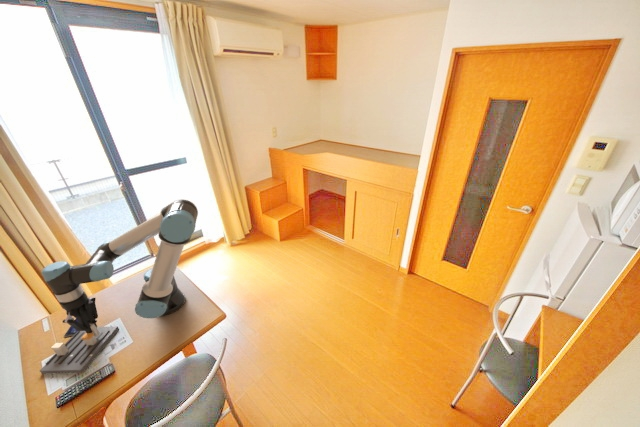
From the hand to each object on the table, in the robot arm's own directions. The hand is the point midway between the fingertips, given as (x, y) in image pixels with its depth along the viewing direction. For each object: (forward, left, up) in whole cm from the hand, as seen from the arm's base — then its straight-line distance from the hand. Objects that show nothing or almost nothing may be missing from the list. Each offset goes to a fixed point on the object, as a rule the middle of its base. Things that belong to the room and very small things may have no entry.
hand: (95, 334), depth 107 cm
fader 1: (+8, +7, -2) cm, 11 cm away
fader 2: (0, +3, -2) cm, 3 cm away
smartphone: (+16, -10, -5) cm, 19 cm away
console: (+3, +4, -4) cm, 7 cm away
